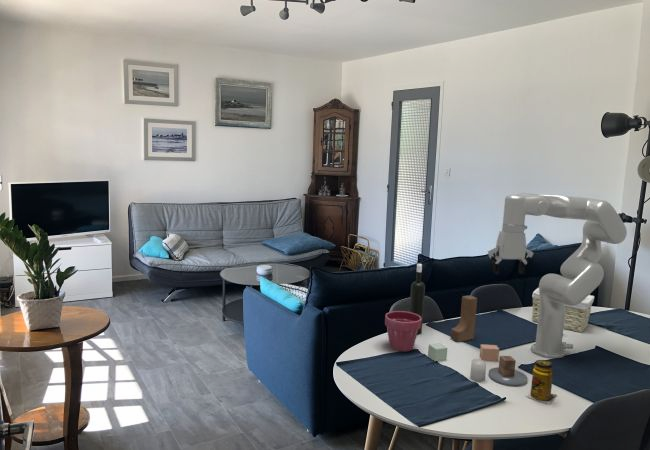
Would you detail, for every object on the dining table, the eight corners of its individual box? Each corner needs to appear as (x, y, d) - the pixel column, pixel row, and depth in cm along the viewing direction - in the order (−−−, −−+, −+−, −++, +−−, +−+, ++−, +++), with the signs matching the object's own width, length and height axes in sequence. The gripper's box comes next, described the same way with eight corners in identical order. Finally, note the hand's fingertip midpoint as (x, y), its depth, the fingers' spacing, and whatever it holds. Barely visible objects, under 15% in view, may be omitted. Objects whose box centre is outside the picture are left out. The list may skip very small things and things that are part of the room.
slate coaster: (516, 369, 192) (516, 367, 192) (534, 386, 180) (534, 383, 179) (482, 370, 191) (482, 367, 191) (497, 386, 178) (498, 384, 178)
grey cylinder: (481, 375, 187) (483, 359, 186) (487, 381, 182) (488, 365, 181) (467, 375, 186) (469, 359, 185) (473, 381, 181) (474, 365, 180)
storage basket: (591, 325, 244) (595, 294, 241) (584, 335, 231) (588, 302, 228) (538, 313, 258) (541, 284, 255) (528, 322, 245) (531, 291, 242)
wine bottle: (418, 335, 222) (423, 266, 217) (405, 332, 225) (410, 264, 220) (423, 331, 227) (428, 263, 222) (411, 328, 230) (415, 261, 225)
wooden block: (457, 342, 216) (461, 300, 213) (450, 338, 220) (453, 297, 217) (474, 339, 220) (477, 297, 217) (466, 335, 224) (470, 294, 221)
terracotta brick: (495, 357, 203) (496, 345, 202) (498, 361, 199) (499, 349, 198) (479, 356, 203) (480, 344, 202) (482, 360, 199) (483, 348, 198)
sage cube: (438, 355, 203) (439, 342, 202) (446, 360, 198) (447, 347, 197) (427, 356, 201) (428, 344, 200) (435, 362, 196) (436, 349, 196)
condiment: (525, 397, 172) (529, 362, 170) (534, 388, 178) (538, 354, 176) (548, 404, 167) (552, 369, 165) (557, 395, 174) (561, 361, 172)
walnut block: (508, 371, 188) (510, 355, 187) (514, 376, 184) (515, 360, 183) (498, 371, 187) (499, 355, 186) (503, 376, 183) (504, 360, 182)
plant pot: (398, 337, 219) (400, 308, 217) (426, 348, 209) (428, 317, 207) (376, 346, 209) (377, 315, 207) (404, 357, 199) (406, 325, 197)
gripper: (530, 227, 199) (525, 271, 202) (486, 226, 197) (482, 271, 199) (540, 230, 191) (535, 276, 194) (494, 230, 189) (490, 276, 192)
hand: (508, 273), depth 197 cm, fingers open, 9 cm apart
